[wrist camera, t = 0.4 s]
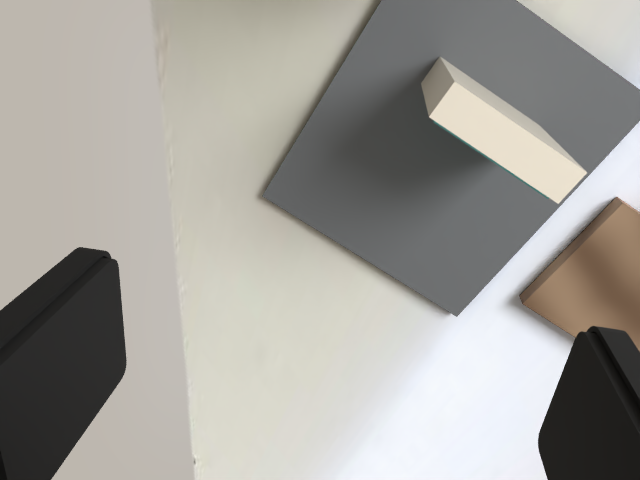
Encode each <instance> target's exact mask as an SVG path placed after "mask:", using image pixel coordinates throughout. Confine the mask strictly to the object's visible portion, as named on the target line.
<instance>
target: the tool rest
mask: <svg viewBox="0 0 640 480" xmlns="http://www.w3.org/2000/svg"><path fill="white" fill-rule="evenodd" d="M520 299H521V301H522V304H523V305H525V306H527V307H528V308H530V309H531V310H533V311H534V312H536V313H538V314H539V315H541V316H542V317H544V318H545V319H547V320H549V321H550V322H552V323H553V324H555V325H556V326H558V327H560V328H561V329H563V330H564V331H566V332H567V333H569V334H571V335H572V336H574V337H575V338H576V336H577V334H578V333H579V332H581V331H582V332H587V330H588V329H589V328H590V327H591V326H599V327H605V328H612V329H618V330H623V331H625V332H626V333H627V334H628V335H629V336H630V338H631V339H632V341H633V342H634V344H635V345H636V347H637V348H638V350H639V352H640V212H638V211H637V210H635V209H634V208H632V207H631V206H630V205H628V204H627V203H625V202H624V201H622V200H621V199H619V198H618V197H616V198H615V199H614V200H613V201H612V202H611V203H610V204H609V205H608V206H607V207H606V208H605V209H604V210H603V211H602V212H601V213H600V214H599V215H598V216H597V217H596V218H595V219H594V220H593V221H592V222H591V223H590V224H589V225H588V226H587V227H586V228H585V229H584V231H583V232H582V233H581V234H580V235H579V236H578V237H577V238H576V239H575V240H574V241H573V242H572V243H571V244H570V245H569V246H568V247H567V248H566V249H565V250H564V251H563V252H562V253H561V254H560V255H559V256H558V257H557V258H556V259H555V260H554V261H553V262H552V263H551V264H550V265H549V266H548V267H547V268H546V269H545V270H544V271H543V272H542V273H541V274H540V275H539V276H538V277H537V278H536V279H535V280H534V281H533V282H532V283H531V284H530V285H529V286H528V287H527V288H526V289H525V290H524V291H523V293H522V294H521V295H520Z"/></svg>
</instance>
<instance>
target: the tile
mask: <svg viewBox="0 0 640 480" xmlns="http://www.w3.org/2000/svg"><path fill="white" fill-rule="evenodd" d="M421 86H422V90H423V94H424V98H425V103H426V107H427V111H428V115H429V117H430V118H431V119H433V122H434V123H435V124H437V125H438V126H440V127H441V128H443V129H444V130H446V131H447V132H449V133H450V134H452V135H453V136H455V137H456V138H458V139H459V140H461V141H462V142H463V143H465V144H466V145H468V146H469V147H471V148H472V149H474V150H475V151H477V152H478V153H480V154H481V155H483V156H484V157H486V158H487V159H489V160H490V161H492V162H493V163H495V164H496V165H498V166H499V167H501V168H502V169H504V170H505V171H507V172H508V173H510V174H511V175H513V176H514V177H516V178H517V179H519V180H520V181H522V182H523V183H525V184H526V185H528V186H529V187H531V188H532V189H534V190H535V191H536V192H538V193H539V194H541V195H542V196H544V197H545V198H547V199H549V198H550V199H552V200H553V201H555V202H556V203H558V204H559V203H560V202H561V201H562V199H563V198H564V197H565V196H566V195H567V194H568V193H569V192H570V191H571V190H572V189H573V188H574V187H575V185H576V184H577V183H578V182H579V181H580V180H581V179H582V178H583V177H584V176H585V175H586V174H587V172H586V171H585V170H584V169H583V168H582V167H581V166H580V165H579V164H578V163H577V162H576V161H575V160H574V159H573V158H572V157H571V156H570V155H569V154H568V153H567V152H566V151H565V150H564V149H563V148H562V147H561V146H560V145H559V144H558V143H557V142H556V141H555V140H554V139H553V138H552V137H551V136H550V135H549V134H548V133H547V132H546V131H545V130H544V129H543V128H542V127H541V126H540V125H538V124H537V123H535V122H534V121H533V120H531V119H530V118H528V117H527V116H525V115H524V114H522V113H521V112H520V111H518V110H517V109H515V108H514V107H512V106H511V105H509V104H508V103H507V102H505V101H504V100H502V99H501V98H499V97H498V96H496V95H495V94H494V93H492V92H491V91H489V90H488V89H486V88H485V87H483V86H482V85H481V84H479V83H478V82H476V81H475V80H473V79H472V78H470V77H469V76H468V75H466V74H465V73H463V72H462V71H460V70H459V69H457V68H456V67H455V66H453V65H452V64H450V63H449V62H447V61H446V60H444V59H443V58H441V57H439V58H438V60H437V61H436V62H435V64H434V65H433V67H432V68H431V70H430V71H429V72H428V74H427V75H426V77H425V78H424V80H423V81H422V83H421Z"/></svg>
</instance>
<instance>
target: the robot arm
mask: <svg viewBox="0 0 640 480" xmlns="http://www.w3.org/2000/svg"><path fill="white" fill-rule="evenodd" d="M125 368H126V350H125V339H124V326H123V315H122V303H121V290H120V279H119V267H118V263H117V261H116V260H115V259H111V256H110V254H109V253H108V252H107V251H102V250H96V249H89V248H83V247H79V248H77V249H75V250H74V251H73V252H71V253H70V254H69V255H68V256H67V257H65V258H64V259H63V260H62V261H60V262H59V263H58V264H57V265H55V266H54V267H53V268H52V269H51V270H49V271H48V272H47V273H46V274H45V275H43V276H42V277H41V278H40V279H38V280H37V281H36V282H35V283H33V284H32V285H31V286H30V287H29V288H27V289H26V290H25V291H24V292H23V293H21V294H20V295H19V296H17V297H16V298H15V299H14V300H13V301H12V302H10V303H9V304H8V305H6V306H5V307H4V308H3V309H2V310H0V480H51V479H52V477H53V476H54V475H55V473H56V472H57V470H58V469H59V467H60V466H61V465H62V463H63V462H64V460H65V459H66V457H67V456H68V455H69V453H70V452H71V450H72V449H73V447H74V446H75V445H76V443H77V442H78V440H79V439H80V438H81V436H82V435H83V433H84V432H85V430H86V429H87V428H88V426H89V425H90V423H91V422H92V421H93V419H94V418H95V416H96V415H97V413H98V412H99V411H100V409H101V408H102V406H103V405H104V403H105V402H106V400H107V399H108V398H109V396H110V395H111V394H112V392H113V391H114V389H115V388H116V386H117V385H118V383H119V382H120V381H121V379H122V377H123V375H124V373H125ZM538 447H539V452H540V456H541V459H542V462H543V466H544V469H545V472H546V475H547V479H548V480H640V352H639V350H638V348H637V347H636V345H635V344H634V342H633V341H632V339H631V338H630V336H629V335H628V334H627V333H626V332H625V331H623V330H618V329H612V328H605V327H599V326H591V327H590V328H589V329H588V330H587V332H582V331H581V332H579V333H578V334H577V336H576V338H575V341H574V343H573V346H572V349H571V351H570V354H569V356H568V359H567V362H566V364H565V367H564V370H563V372H562V375H561V377H560V380H559V383H558V385H557V388H556V390H555V393H554V396H553V398H552V401H551V403H550V406H549V409H548V411H547V414H546V416H545V419H544V422H543V424H542V427H541V429H540V433H539V438H538Z"/></svg>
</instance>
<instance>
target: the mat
mask: <svg viewBox="0 0 640 480" xmlns="http://www.w3.org/2000/svg"><path fill="white" fill-rule="evenodd" d="M439 57H441V58H443V59H444V60H446V61H447V62H449V63H450V64H452V65H453V66H455V67H456V68H457V69H459V70H460V71H462V72H463V73H465V74H466V75H468V76H469V77H470V78H472V79H473V80H475V81H476V82H478V83H479V84H481V85H482V86H483V87H485V88H486V89H488V90H489V91H491V92H492V93H494V94H495V95H496V96H498V97H499V98H501V99H502V100H504V101H505V102H507V103H508V104H509V105H511V106H512V107H514V108H515V109H517V110H518V111H520V112H521V113H522V114H524V115H525V116H527V117H528V118H530V119H531V120H533V121H534V122H535V123H537V124H538V125H540V126H541V127H542V128H543V129H544V130H545V131H546V132H547V133H548V134H549V135H550V136H551V137H552V138H553V139H554V140H555V141H556V142H557V143H558V144H559V145H560V146H561V147H562V148H563V149H564V150H565V151H566V152H567V153H568V154H569V155H570V156H571V157H572V158H573V159H574V160H575V161H576V162H577V163H578V164H579V165H580V166H581V167H582V168H583V169H584V170H585V171H586V172H587V174H586V175H585V176H584V177H583V178H582V179H581V180H580V181H579V182H578V183H577V184H576V185H575V187H574V188H573V189H572V190H571V191H570V192H569V193H568V194H567V195H566V196H565V197H564V198H563V199H562V201H561V202H560V203H559V204H558V203H556V202H555V201H553V200H552V199H550V198H549V199H547V198H545V197H544V196H542V195H541V194H539V193H538V192H536V191H535V190H534V189H532V188H531V187H529V186H528V185H526V184H525V183H523V182H522V181H520V180H519V179H517V178H516V177H514V176H513V175H511V174H510V173H508V172H507V171H505V170H504V169H502V168H501V167H499V166H498V165H496V164H495V163H493V162H492V161H490V160H489V159H487V158H486V157H484V156H483V155H481V154H480V153H478V152H477V151H475V150H474V149H472V148H471V147H469V146H468V145H466V144H465V143H463V142H462V141H461V140H459V139H458V138H456V137H455V136H453V135H452V134H450V133H449V132H447V131H446V130H444V129H443V128H441V127H440V126H438V125H437V124H435V123H434V122H433V119H431V118H430V117H429V115H428V111H427V107H426V103H425V98H424V94H423V90H422V86H421V83H422V81H423V80H424V78H425V77H426V75H427V74H428V72H429V71H430V70H431V68H432V67H433V65H434V64H435V62H436V61H437V60H438V58H439ZM639 121H640V90H639V89H638V88H637V87H635V86H634V85H633V84H631V83H630V82H628V81H627V80H626V79H624V78H623V77H621V76H620V75H619V74H617V73H616V72H615V71H613V70H612V69H610V68H609V67H608V66H606V65H605V64H604V63H602V62H601V61H599V60H598V59H597V58H595V57H594V56H592V55H591V54H590V53H588V52H587V51H586V50H584V49H583V48H581V47H580V46H579V45H577V44H576V43H575V42H573V41H572V40H570V39H569V38H568V37H566V36H565V35H563V34H562V33H561V32H559V31H558V30H557V29H555V28H554V27H552V26H551V25H550V24H548V23H547V22H545V21H544V20H543V19H541V18H540V17H539V16H537V15H536V14H534V13H533V12H532V11H530V10H529V9H528V8H526V7H525V6H523V5H522V4H521V3H519V2H518V1H516V0H381V2H380V4H379V5H378V7H377V9H376V10H375V12H374V13H373V15H372V17H371V18H370V20H369V22H368V23H367V25H366V27H365V28H364V30H363V32H362V33H361V35H360V36H359V38H358V40H357V41H356V43H355V45H354V46H353V48H352V50H351V51H350V53H349V54H348V56H347V58H346V59H345V61H344V63H343V64H342V66H341V68H340V69H339V71H338V73H337V74H336V76H335V77H334V79H333V81H332V82H331V84H330V86H329V87H328V89H327V91H326V92H325V94H324V95H323V97H322V99H321V100H320V102H319V104H318V105H317V107H316V109H315V110H314V112H313V114H312V115H311V117H310V118H309V120H308V122H307V123H306V125H305V127H304V128H303V130H302V132H301V133H300V135H299V136H298V138H297V140H296V141H295V143H294V145H293V146H292V148H291V150H290V151H289V153H288V154H287V156H286V158H285V159H284V161H283V163H282V164H281V166H280V168H279V169H278V171H277V173H276V174H275V176H274V177H273V179H272V181H271V182H270V184H269V186H268V187H267V189H266V191H265V192H264V194H263V195H262V196H263V197H264V198H266V199H267V200H269V201H271V202H272V203H274V204H276V205H277V206H279V207H280V208H282V209H284V210H285V211H287V212H288V213H290V214H292V215H293V216H295V217H297V218H298V219H300V220H301V221H303V222H305V223H306V224H308V225H309V226H311V227H313V228H314V229H316V230H318V231H319V232H321V233H322V234H324V235H326V236H327V237H329V238H330V239H332V240H334V241H335V242H337V243H339V244H340V245H342V246H343V247H345V248H347V249H348V250H350V251H351V252H353V253H355V254H356V255H358V256H360V257H361V258H363V259H364V260H366V261H368V262H369V263H371V264H372V265H374V266H376V267H377V268H379V269H381V270H382V271H384V272H385V273H387V274H389V275H390V276H392V277H393V278H395V279H397V280H398V281H400V282H402V283H403V284H405V285H406V286H408V287H410V288H411V289H413V290H414V291H416V292H418V293H419V294H421V295H423V296H424V297H426V298H427V299H429V300H431V301H432V302H434V303H435V304H437V305H439V306H440V307H442V308H444V309H445V310H447V311H448V312H450V313H452V314H453V315H455V316H456V317H457V316H458V315H459V314H460V313H461V312H462V311H463V310H464V309H465V307H466V306H467V305H468V304H469V303H470V302H471V301H472V300H473V299H474V298H475V297H476V296H477V295H478V294H479V292H480V291H481V290H482V289H483V288H484V287H485V286H486V285H487V284H488V283H489V282H490V281H491V280H492V279H493V277H494V276H495V275H496V274H497V273H498V272H499V271H500V270H501V269H502V268H503V267H504V266H505V265H506V264H507V262H508V261H509V260H510V259H511V258H512V257H513V256H514V255H515V254H516V253H517V252H518V251H519V250H520V249H521V248H522V246H523V245H524V244H525V243H526V242H527V241H528V240H529V239H530V238H531V237H532V236H533V235H534V234H535V233H536V231H537V230H538V229H539V228H540V227H541V226H542V225H543V224H544V223H545V222H546V221H547V220H548V219H549V218H550V216H551V215H552V214H553V213H554V212H555V211H556V210H557V209H558V208H559V207H560V206H561V205H562V204H563V203H564V201H565V200H566V199H567V198H568V197H569V196H570V195H571V194H572V193H573V192H574V191H575V190H576V189H577V188H578V186H579V185H580V184H581V183H582V182H583V181H584V180H585V179H586V178H587V177H588V176H589V175H590V174H591V173H592V171H593V170H594V169H595V168H596V167H597V166H598V165H599V164H600V163H601V162H602V161H603V160H604V159H605V158H606V156H607V155H608V154H609V153H610V152H611V151H612V150H613V149H614V148H615V147H616V146H617V145H618V144H619V143H620V141H621V140H622V139H623V138H624V137H625V136H626V135H627V134H628V133H629V132H630V131H631V130H632V129H633V128H634V126H635V125H636V124H637V123H638V122H639Z"/></svg>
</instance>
